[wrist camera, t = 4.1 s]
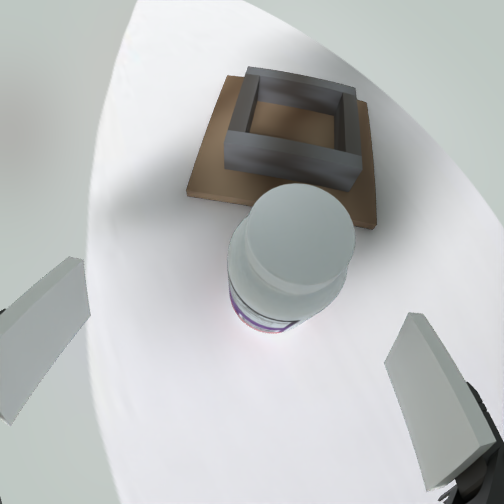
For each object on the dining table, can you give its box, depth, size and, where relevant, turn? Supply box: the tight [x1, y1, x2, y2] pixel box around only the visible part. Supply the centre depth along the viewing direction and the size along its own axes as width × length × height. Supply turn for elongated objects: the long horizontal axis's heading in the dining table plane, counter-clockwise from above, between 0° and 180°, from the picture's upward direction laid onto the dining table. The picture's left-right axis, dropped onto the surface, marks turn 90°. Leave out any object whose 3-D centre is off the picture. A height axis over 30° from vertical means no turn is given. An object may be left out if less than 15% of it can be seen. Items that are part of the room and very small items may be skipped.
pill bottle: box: [227, 183, 355, 333], centre depth 15 cm, size 5×5×10 cm
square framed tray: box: [186, 67, 377, 230], centre depth 22 cm, size 14×14×4 cm
